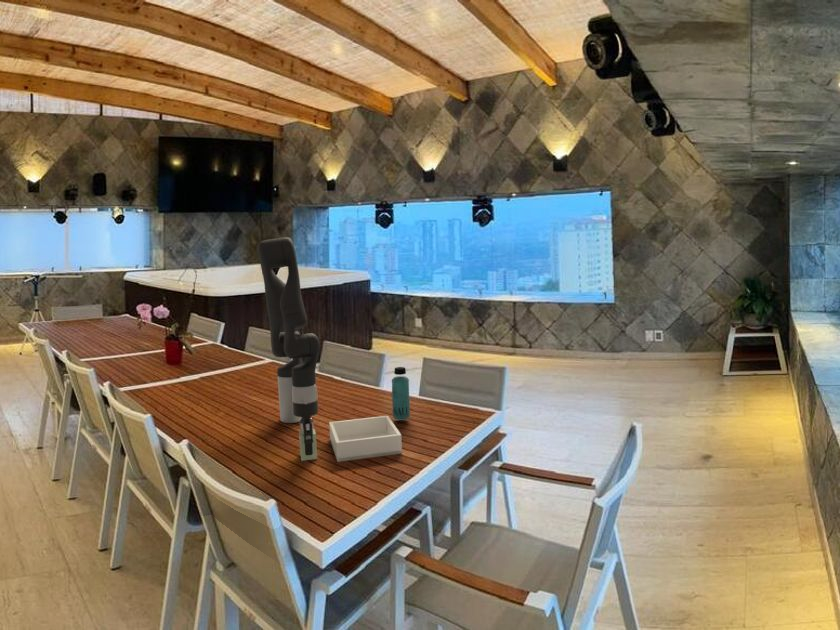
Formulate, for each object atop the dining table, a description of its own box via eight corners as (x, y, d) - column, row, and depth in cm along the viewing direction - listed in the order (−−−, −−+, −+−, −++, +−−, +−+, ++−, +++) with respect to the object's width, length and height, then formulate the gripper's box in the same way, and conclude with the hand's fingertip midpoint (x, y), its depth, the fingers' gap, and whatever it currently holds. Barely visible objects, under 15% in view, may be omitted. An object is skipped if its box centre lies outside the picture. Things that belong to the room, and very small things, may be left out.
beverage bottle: (402, 417, 210) (400, 364, 207) (414, 420, 205) (412, 367, 202) (388, 421, 205) (386, 367, 203) (401, 425, 201) (399, 370, 198)
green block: (300, 455, 176) (298, 430, 175) (315, 453, 177) (314, 428, 176) (301, 460, 171) (299, 435, 170) (317, 458, 173) (315, 433, 172)
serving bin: (330, 439, 189) (329, 422, 188) (388, 432, 194) (387, 415, 193) (337, 461, 170) (336, 442, 169) (402, 453, 175) (401, 434, 174)
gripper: (291, 394, 178) (294, 443, 180) (293, 406, 164) (296, 459, 166) (315, 391, 179) (318, 440, 182) (319, 404, 166) (322, 456, 168)
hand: (308, 449), depth 174 cm, fingers open, 8 cm apart
